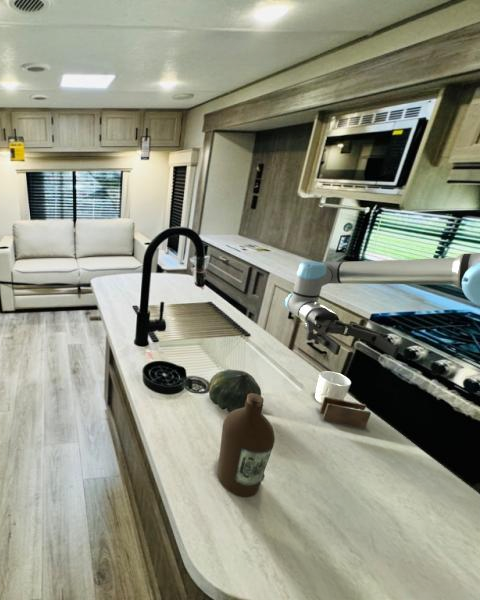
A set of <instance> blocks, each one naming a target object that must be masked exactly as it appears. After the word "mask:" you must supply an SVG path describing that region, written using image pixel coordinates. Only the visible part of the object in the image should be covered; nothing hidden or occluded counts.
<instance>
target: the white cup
mask: <svg viewBox="0 0 480 600" xmlns="http://www.w3.org/2000/svg"><path fill="white" fill-rule="evenodd" d="M351 384H352V381H351V380H350V378H348V377H347V376H345V375H343V374H341V373H339V372H336V371H331V370H330V371H329V370H323V371H321V372H320V373H319V375H318V379H317V384H316V389H315V395H314V398H315V399H316V401H317V402H318V403H320V404H322V403H323V399H324V397H329V398H334V399H339V400H345V398H346V397H347V395H348V392H349V389H350V387H351Z"/></svg>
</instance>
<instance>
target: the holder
mask: <svg viewBox="0 0 480 600" xmlns="http://www.w3.org/2000/svg"><path fill="white" fill-rule="evenodd" d="M366 408H367V405H366V403H360V402H355V401H350V400H345V399H344V400H339V399H334V398H329V397H324V399H323V403H321V406H320V408H319V413H320V414H321V415H322V414H323V416H322V420H323V421H325V422H331V423H336V424H339V425H340V424H341V425H344V426H345V425H346V426H350V427H355V428H359V429H363V430H365V429H366V427H367V425H368V423H369V420H370V416H371V413H372V412H371V411H370V410H366Z"/></svg>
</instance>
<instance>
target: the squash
mask: <svg viewBox="0 0 480 600" xmlns="http://www.w3.org/2000/svg"><path fill="white" fill-rule="evenodd" d="M250 393H254V394H258V395H260V396H261V397H262V390H261V387H260V385H259V383H258V382H257V381H256V379H255V377H253V375H251V374H250V373H248V372H246V371H244V370H240V369H239V370H238V369H225V370H221V371H219V372H217V373H215V374H214V375H212V377H211V378H210V380H209V390H208V395H209V399H210V400H211V402H212V403H213V404H214V405H217V406H218V408H219V409H220V410H223V411H224V410H226V411H227V412H228V413H230V412H232V411H234V410H236V409H240V408H244V407H245V403H246V399H247V396H248V394H250Z"/></svg>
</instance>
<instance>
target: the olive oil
mask: <svg viewBox="0 0 480 600" xmlns="http://www.w3.org/2000/svg"><path fill="white" fill-rule="evenodd" d="M264 400H265V399H264V397H263V396H262V395H261V396H260V395H258V394H254V393H250V394H248V396H247V399H246V403H245V407H244V408H240V409H236V410H234V411H232V412H228V414H227V415H226V417H225V418H224V420H223V423H222V429H221V439H220V448H219V456H218V462H217V463H218V464H217V470H216V475H217V479H218V481H219V483H220V484H221V485H222V486H223V488H225V489H226V490H227V491H229V492H230V493H232V494H233V495H236V496H239V497H243V498H249V497H253V496H255V495H256V494H257V493H258V492H259V490H260V486H261V484H262V482H263V481H264V479H265V476H266V475H265V471H266V468H267V466H268V463H269V460H270V457H271V454H272V451H273V449H274V445H275V441H276V437H275V430H274V427H273V425H272V424H271V422H270V421H269V419H268V418H267V417H266V416H265V415H264V414H263V409H264V408H263V407H264V402H265V401H264Z"/></svg>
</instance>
